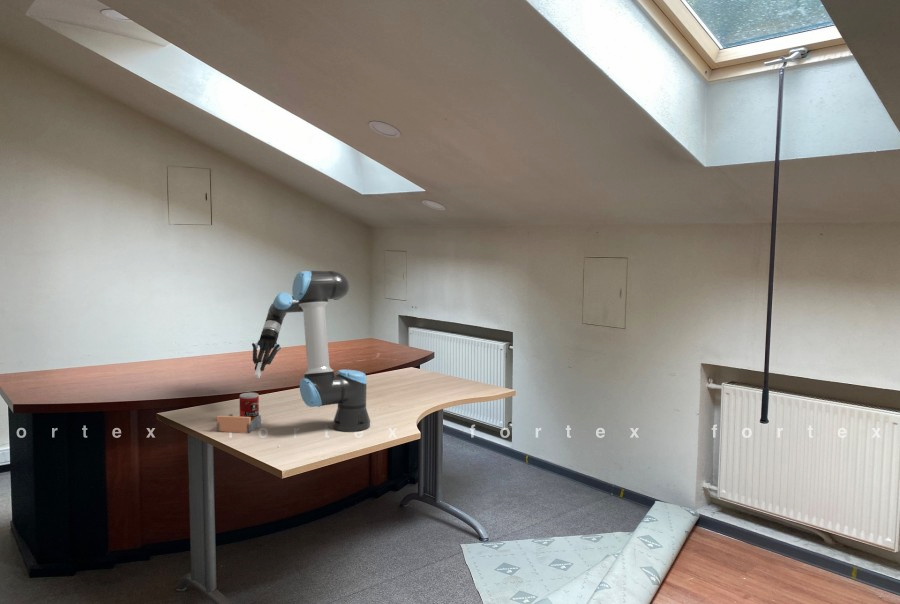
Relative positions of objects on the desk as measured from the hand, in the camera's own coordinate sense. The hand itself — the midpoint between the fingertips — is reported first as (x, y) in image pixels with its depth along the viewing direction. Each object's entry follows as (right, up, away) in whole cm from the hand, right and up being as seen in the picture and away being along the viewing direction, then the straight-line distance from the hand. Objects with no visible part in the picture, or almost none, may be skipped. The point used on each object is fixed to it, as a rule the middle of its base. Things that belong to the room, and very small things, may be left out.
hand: (256, 376), depth 267 cm
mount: (-1, -18, -18) cm, 25 cm away
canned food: (-1, -18, -8) cm, 19 cm away
